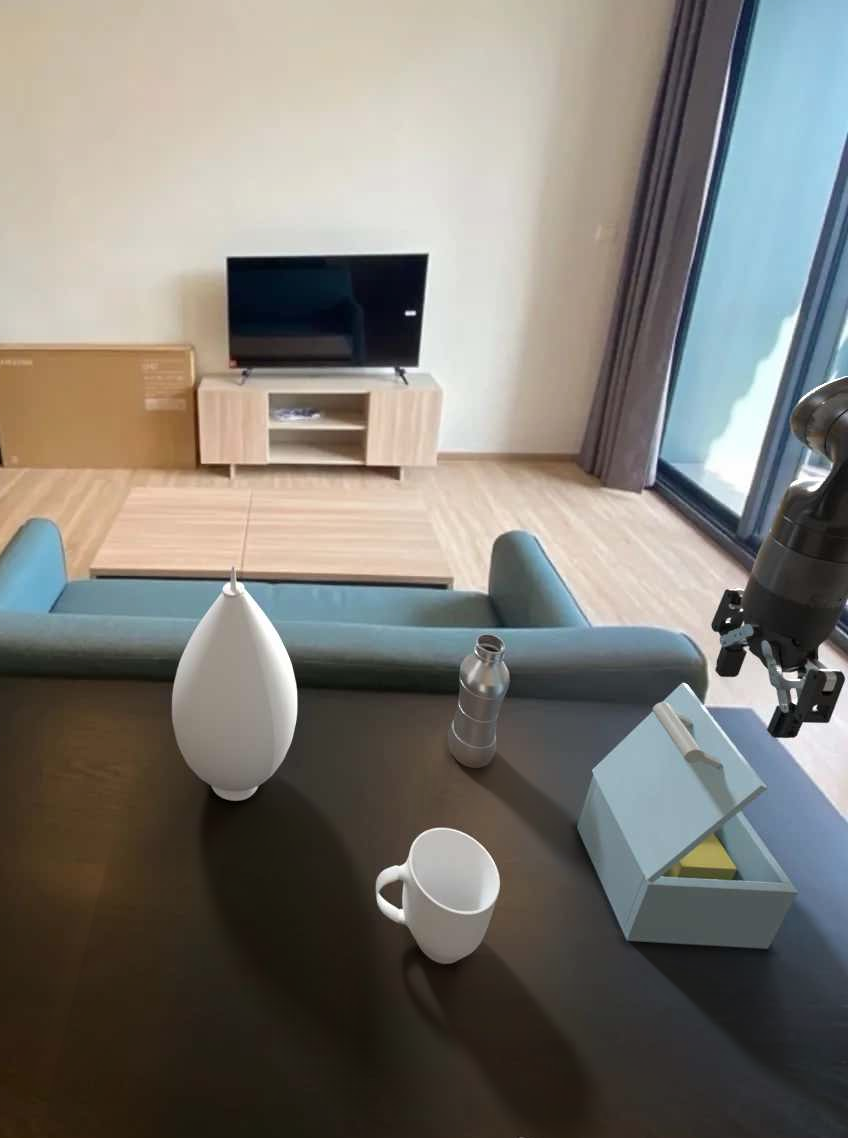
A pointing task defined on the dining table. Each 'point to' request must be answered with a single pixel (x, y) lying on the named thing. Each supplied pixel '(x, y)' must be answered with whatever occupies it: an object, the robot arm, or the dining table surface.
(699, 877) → the sponge
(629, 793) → the box lid
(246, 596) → the lamp
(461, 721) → the silver metal bottle
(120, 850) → the dining table surface
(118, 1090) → the dining table surface
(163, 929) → the dining table surface
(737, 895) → the light blue box
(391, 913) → the mug
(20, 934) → the dining table surface
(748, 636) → the robot arm
